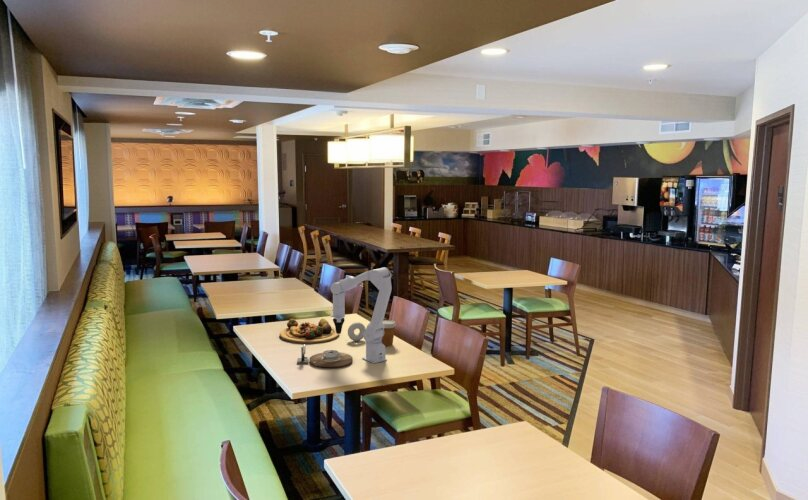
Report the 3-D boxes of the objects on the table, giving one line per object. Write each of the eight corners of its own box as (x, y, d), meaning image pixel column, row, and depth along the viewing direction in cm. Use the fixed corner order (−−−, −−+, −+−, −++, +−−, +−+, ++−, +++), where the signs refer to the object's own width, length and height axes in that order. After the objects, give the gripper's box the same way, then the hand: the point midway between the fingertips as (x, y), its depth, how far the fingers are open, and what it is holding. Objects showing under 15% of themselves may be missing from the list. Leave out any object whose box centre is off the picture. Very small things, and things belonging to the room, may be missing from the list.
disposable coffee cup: (379, 347, 297) (379, 324, 295) (375, 342, 306) (375, 320, 304) (397, 346, 299) (398, 323, 298) (393, 341, 309) (393, 319, 307)
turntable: (361, 361, 272) (361, 359, 272) (324, 370, 260) (324, 368, 259) (336, 351, 288) (336, 349, 287) (301, 359, 275) (301, 357, 274)
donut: (364, 339, 312) (364, 320, 311) (366, 340, 309) (367, 322, 308) (346, 340, 308) (346, 322, 307) (348, 342, 305) (348, 323, 304)
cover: (341, 359, 273) (341, 352, 272) (328, 361, 268) (328, 355, 268) (333, 355, 278) (333, 349, 278) (320, 357, 274) (320, 351, 273)
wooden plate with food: (268, 334, 318) (268, 320, 317) (317, 324, 340) (317, 311, 338) (300, 349, 295) (300, 333, 294) (351, 338, 316) (351, 323, 315)
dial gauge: (297, 364, 269) (297, 346, 268) (297, 360, 274) (297, 343, 273) (308, 363, 270) (308, 346, 269) (308, 360, 275) (308, 342, 274)
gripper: (330, 302, 293) (330, 329, 295) (330, 309, 279) (330, 337, 280) (344, 302, 294) (344, 329, 295) (345, 309, 279) (345, 337, 281)
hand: (338, 333), depth 288 cm, fingers closed
